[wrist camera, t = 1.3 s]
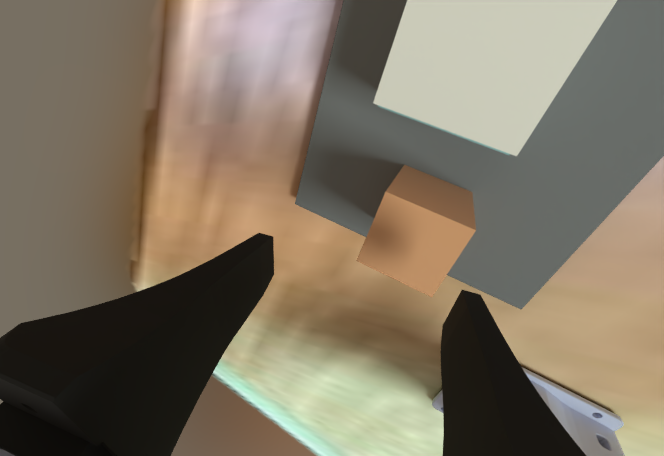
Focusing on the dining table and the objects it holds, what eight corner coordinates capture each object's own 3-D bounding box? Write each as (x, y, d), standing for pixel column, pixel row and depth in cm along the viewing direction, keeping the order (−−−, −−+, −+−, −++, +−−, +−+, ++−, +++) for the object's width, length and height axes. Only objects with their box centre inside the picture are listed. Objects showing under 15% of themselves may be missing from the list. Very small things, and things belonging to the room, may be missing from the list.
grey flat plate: (772, 19, 11) (793, 15, 10) (518, 301, 18) (521, 309, 18) (369, -79, 14) (364, -87, 13) (300, 200, 21) (294, 204, 21)
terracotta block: (472, 192, 16) (476, 230, 12) (438, 248, 18) (431, 297, 14) (404, 164, 17) (385, 191, 13) (379, 221, 19) (356, 260, 15)
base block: (593, -10, 11) (649, -49, 8) (503, 139, 14) (516, 156, 11) (445, -48, 12) (438, -96, 9) (391, 98, 16) (372, 103, 12)
